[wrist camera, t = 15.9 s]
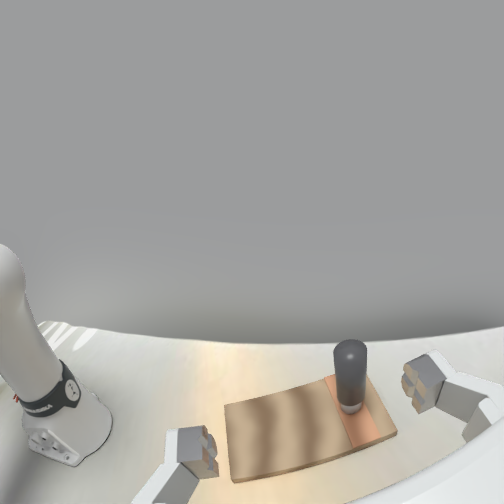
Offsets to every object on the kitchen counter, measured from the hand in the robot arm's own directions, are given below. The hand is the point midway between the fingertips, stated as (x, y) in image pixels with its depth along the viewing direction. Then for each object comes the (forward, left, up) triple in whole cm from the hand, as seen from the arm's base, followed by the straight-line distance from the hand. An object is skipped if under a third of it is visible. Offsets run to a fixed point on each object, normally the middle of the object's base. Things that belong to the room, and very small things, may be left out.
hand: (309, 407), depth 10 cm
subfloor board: (+1, +17, -30) cm, 34 cm away
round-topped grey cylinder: (+8, +17, -28) cm, 33 cm away
